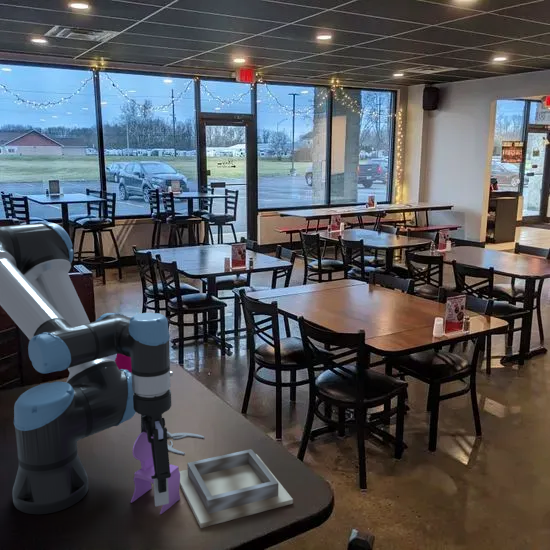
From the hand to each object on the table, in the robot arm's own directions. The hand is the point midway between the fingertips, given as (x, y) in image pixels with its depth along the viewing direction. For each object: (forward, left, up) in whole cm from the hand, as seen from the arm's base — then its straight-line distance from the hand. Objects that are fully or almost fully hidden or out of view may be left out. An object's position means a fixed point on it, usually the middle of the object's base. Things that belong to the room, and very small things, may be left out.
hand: (156, 490), depth 118 cm
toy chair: (0, 0, -3) cm, 3 cm away
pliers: (+9, +25, -3) cm, 27 cm away
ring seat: (+16, -2, -3) cm, 16 cm away
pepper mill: (+5, +69, -3) cm, 69 cm away
